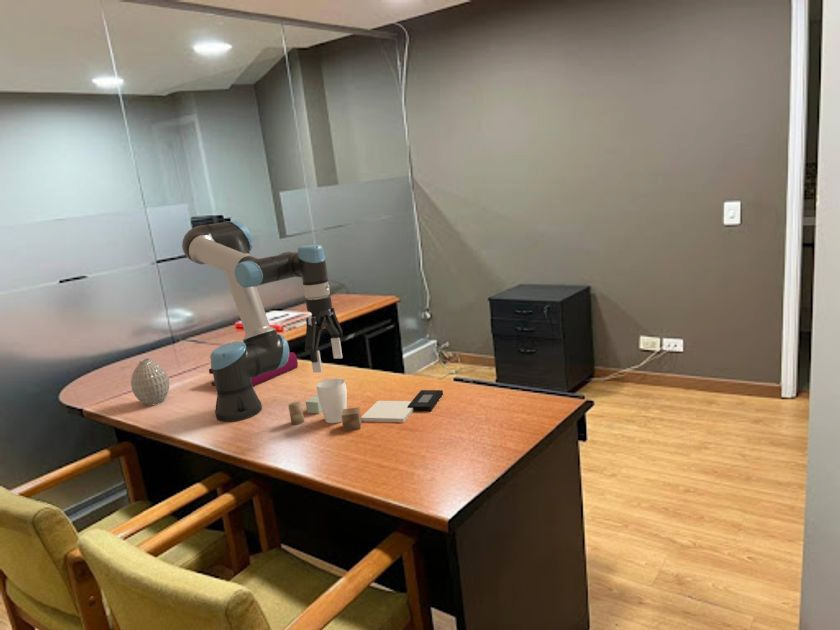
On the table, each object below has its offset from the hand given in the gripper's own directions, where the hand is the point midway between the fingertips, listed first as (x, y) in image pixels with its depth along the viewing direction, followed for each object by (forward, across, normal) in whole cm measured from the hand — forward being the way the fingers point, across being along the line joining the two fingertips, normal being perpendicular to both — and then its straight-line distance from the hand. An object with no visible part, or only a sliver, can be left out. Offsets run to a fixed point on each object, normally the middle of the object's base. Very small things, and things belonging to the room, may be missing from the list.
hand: (328, 364), depth 190 cm
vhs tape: (+18, +15, -25) cm, 34 cm away
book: (+18, +40, +56) cm, 72 cm away
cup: (+18, 0, 0) cm, 18 cm away
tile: (+18, +6, -16) cm, 25 cm away
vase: (+18, +11, +81) cm, 84 cm away
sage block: (+18, +8, +10) cm, 22 cm away
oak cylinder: (+18, -3, +12) cm, 22 cm away
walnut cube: (+18, -5, -8) cm, 20 cm away
